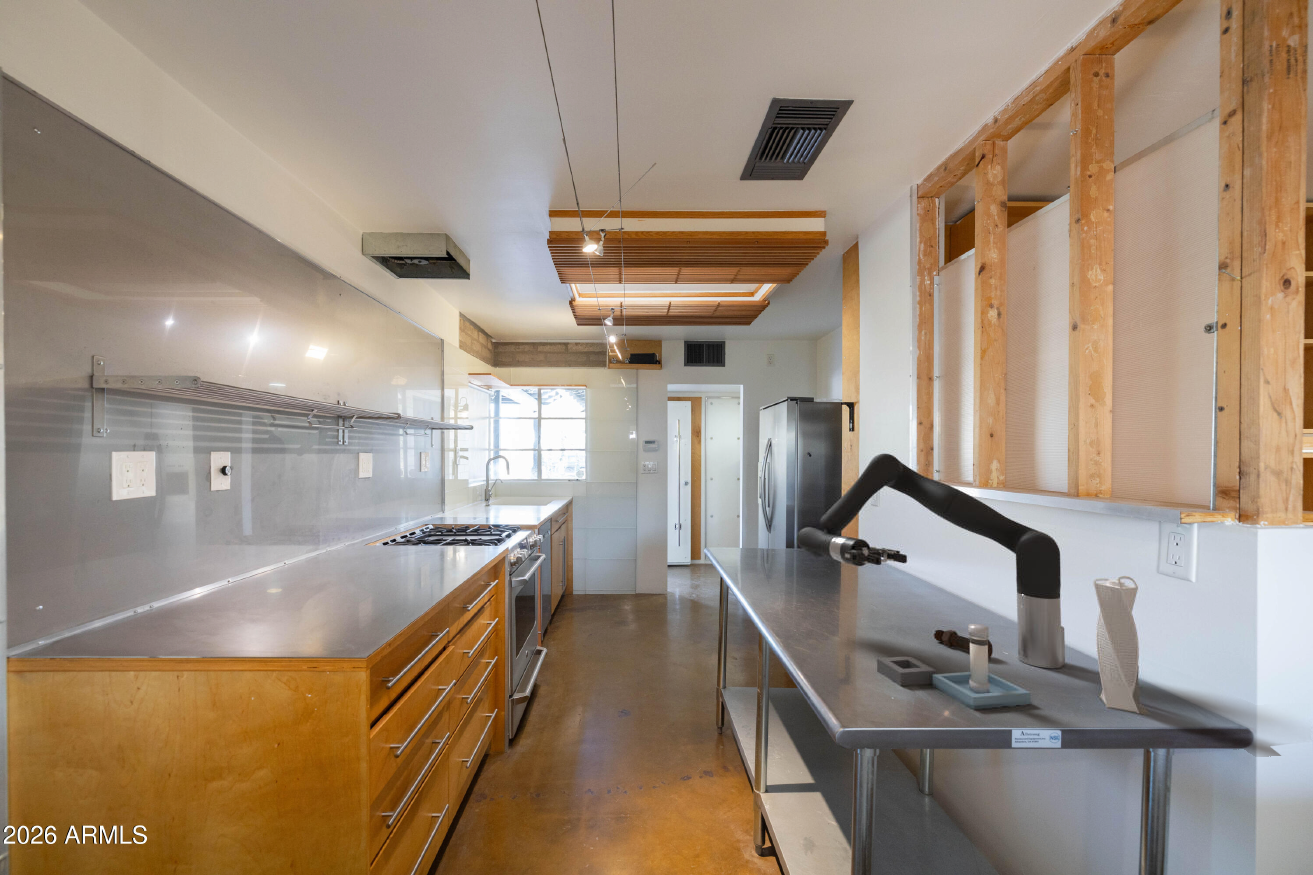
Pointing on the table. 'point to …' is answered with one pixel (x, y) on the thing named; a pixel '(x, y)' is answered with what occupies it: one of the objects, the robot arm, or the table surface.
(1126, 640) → the skyscraper
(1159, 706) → the table surface
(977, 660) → the fuse
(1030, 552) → the robot arm
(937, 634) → the bolt
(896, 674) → the fuse holder
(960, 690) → the tray
